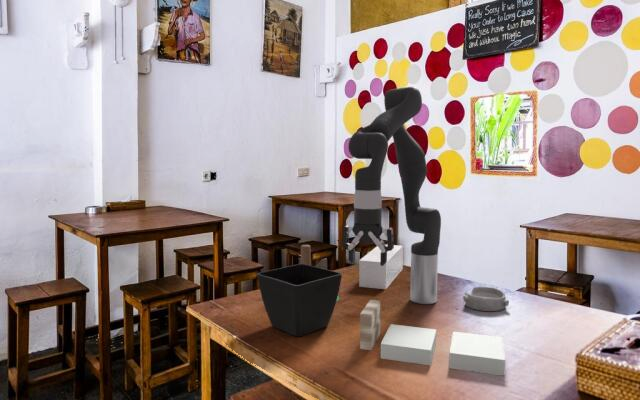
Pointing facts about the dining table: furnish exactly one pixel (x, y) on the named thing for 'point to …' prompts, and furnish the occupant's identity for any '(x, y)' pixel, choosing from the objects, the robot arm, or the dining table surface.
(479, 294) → the dish
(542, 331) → the dining table surface
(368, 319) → the beige metallic bar
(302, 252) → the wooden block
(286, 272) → the flower pot
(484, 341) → the slotted board
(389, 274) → the long white block
